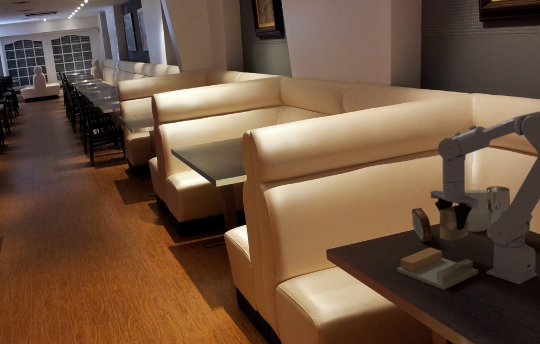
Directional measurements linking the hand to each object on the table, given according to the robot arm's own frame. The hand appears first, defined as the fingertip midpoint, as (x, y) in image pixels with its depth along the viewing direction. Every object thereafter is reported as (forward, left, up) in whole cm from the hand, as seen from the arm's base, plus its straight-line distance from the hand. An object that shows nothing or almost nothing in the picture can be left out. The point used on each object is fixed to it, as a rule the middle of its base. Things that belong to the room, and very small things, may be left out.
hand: (453, 227), depth 154 cm
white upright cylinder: (+12, -25, -10) cm, 29 cm away
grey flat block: (-3, +11, -9) cm, 15 cm away
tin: (+18, -7, -10) cm, 22 cm away
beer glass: (+2, -23, -10) cm, 25 cm away
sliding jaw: (+2, +11, -8) cm, 14 cm away
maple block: (0, 0, -3) cm, 3 cm away
